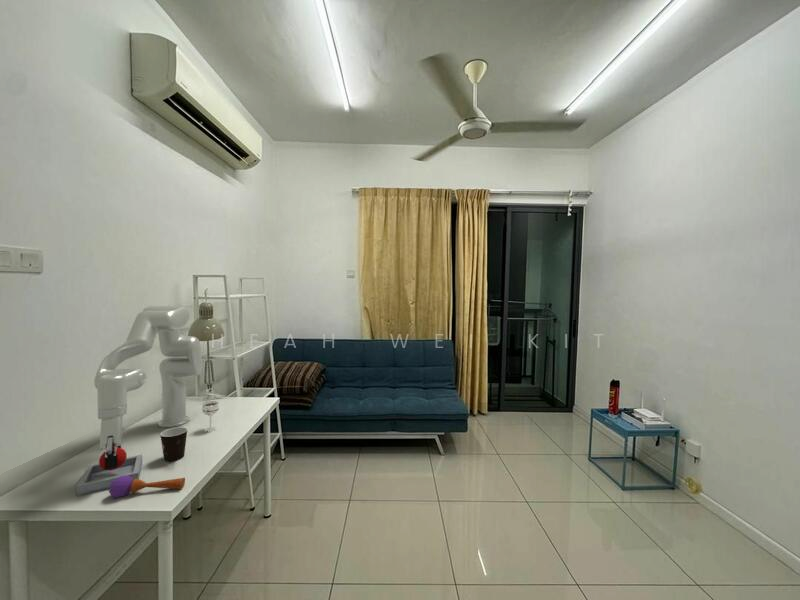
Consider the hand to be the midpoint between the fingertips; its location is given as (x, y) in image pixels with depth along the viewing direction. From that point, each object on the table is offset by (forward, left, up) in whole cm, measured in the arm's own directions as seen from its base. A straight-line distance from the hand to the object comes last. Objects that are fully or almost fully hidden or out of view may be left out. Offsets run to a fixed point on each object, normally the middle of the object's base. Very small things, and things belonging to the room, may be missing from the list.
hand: (113, 462), depth 114 cm
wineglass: (-28, +31, -5) cm, 42 cm away
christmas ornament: (0, 0, -2) cm, 2 cm away
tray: (0, 0, -5) cm, 5 cm away
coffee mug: (-4, +17, -5) cm, 18 cm away
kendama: (+16, +10, -6) cm, 20 cm away
